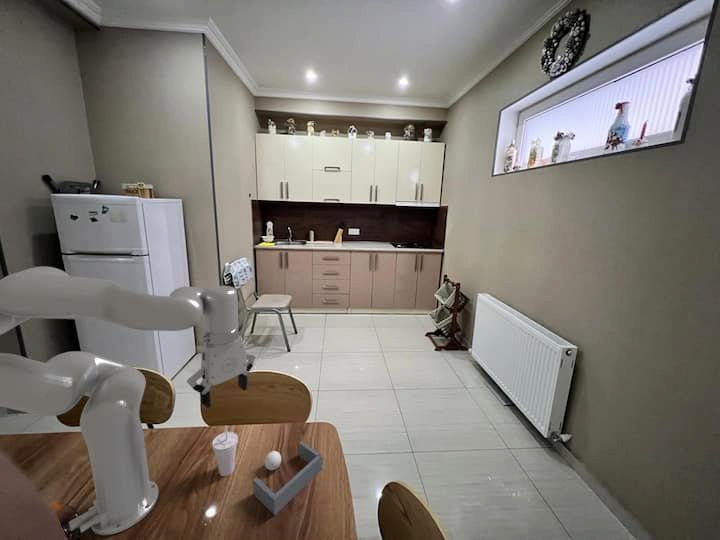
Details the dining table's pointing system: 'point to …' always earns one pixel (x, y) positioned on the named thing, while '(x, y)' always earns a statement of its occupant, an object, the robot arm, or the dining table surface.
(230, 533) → the dining table surface
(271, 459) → the ball
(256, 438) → the dining table surface
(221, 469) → the smoothie
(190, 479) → the dining table surface
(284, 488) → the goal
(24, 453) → the dining table surface
